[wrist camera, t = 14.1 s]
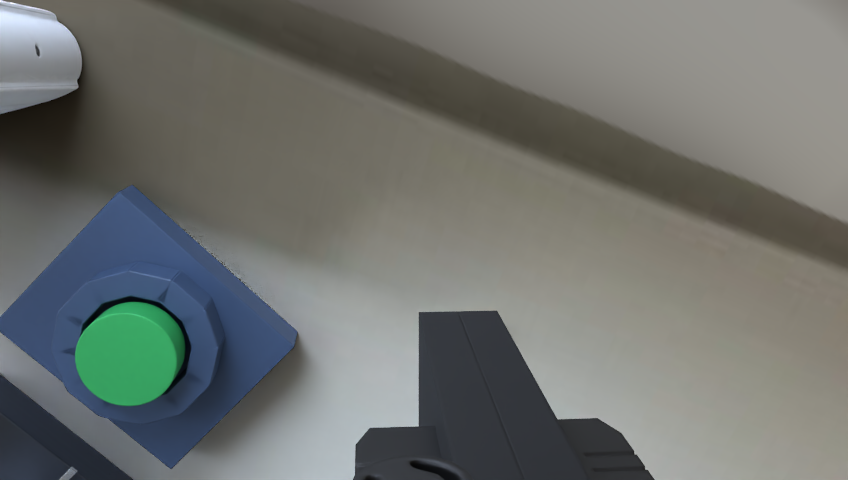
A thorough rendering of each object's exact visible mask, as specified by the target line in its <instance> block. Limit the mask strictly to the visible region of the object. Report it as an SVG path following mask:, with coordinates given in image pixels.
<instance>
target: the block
mask: <svg viewBox="0 0 848 480" xmlns="http://www.w3.org/2000/svg"><path fill="white" fill-rule="evenodd" d="M125 302H143V303H148V304H151V305H154V306H156V307H159V308H160V309H162V310H164V311H165V312H166V313H168V314H169V315H170V316H171V317H172V318H173V319H174V320H175V321H176V323H177V324H178V325H179V327H180V329H181V331H182V333H183V336H184V340H185V358H184V362H183V364H182V367H181V369H180V370H179V372H178V374H177V375H176V377H175V378H174V380H173V382H172V383H171V385H170V386H169V388H168V389H167V390H166V391H165V392H164V393H163V394H162V395H161V396H159V397H158V398H156V399H155V400H153V401H151V402H148V403H146V404H142V405H138V406H120V405H115V404H111V403H109V402H106V401H104V400H102V399H100V398H98V397H97V396H96V395H94V394H93V393H92V392H91V391H90V390H89V389H88V388H87V387H86V386H85V385H84V383H83V382H82V380H81V378H80V376H79V374H78V371H77V368H76V362H75V352H76V346H77V343H78V340H79V338H80V336H81V335H82V333H83V332H84V330H85V329H86V328H87V327H88V326H89V325H90V324H91V323H92V322H93V321H94V320H96V319H97V318H98V317H99V316H100V315H101V314H102V313H103V312H104V311H106V310H107V309H109V308H111V307H113V306H115V305H118V304H121V303H125ZM0 332H1V333H2V334H3V335H5V336H6V337H7V338H8V339H10V340H11V341H12V342H13V343H15V344H16V345H17V346H18V347H20V348H21V349H22V350H23V351H25V352H26V353H27V354H28V355H29V356H31V357H32V358H33V359H34V360H36V361H37V362H38V363H39V364H41V365H42V366H43V367H44V368H46V369H47V370H48V371H49V372H51V373H52V374H53V375H54V376H56V377H57V378H58V379H59V380H61V381H62V382H63V383H64V385H65V388H66V389H67V391H68V392H69V393H70V394H72V395H73V396H74V397H75V398H77V399H78V400H79V401H80V402H82V403H83V404H84V405H85V406H87V407H88V408H89V409H90V410H92V411H93V412H94V413H95V414H97V415H98V416H100V417H104V418H108V419H109V420H110V421H112V422H113V423H114V424H115V425H117V426H118V427H119V428H120V429H122V430H123V431H124V432H125V433H127V434H128V435H129V436H130V437H132V438H133V439H134V440H135V441H137V442H138V443H139V444H140V445H142V446H143V447H144V448H145V449H147V450H148V451H149V452H150V453H152V454H153V455H154V456H155V457H156V458H158V459H159V460H160V461H161V462H163V463H164V464H165V465H166V466H168V467H169V468H170V469H172V468H173V467H174V466H175V465H176V464H177V463H178V462H179V461H180V460H181V459H182V458H183V457H184V456H185V455H186V454H187V453H188V452H189V451H190V450H191V449H192V448H193V447H194V446H195V445H196V444H197V443H198V442H199V441H200V440H201V439H202V438H203V437H204V436H205V435H206V434H207V433H208V432H209V431H210V430H211V429H212V428H213V427H214V426H215V425H216V424H217V423H218V422H219V421H220V420H221V419H222V418H223V417H224V416H225V415H226V414H227V413H228V412H229V411H230V410H231V409H232V408H233V407H234V406H235V405H236V404H237V403H238V402H239V401H240V400H241V399H242V398H243V397H244V396H245V395H246V394H247V393H248V392H249V391H250V390H251V389H252V388H253V387H254V386H255V385H256V384H257V383H258V382H259V381H260V380H261V379H262V378H263V377H264V376H265V375H266V374H267V373H268V372H269V371H270V370H271V369H272V368H273V367H274V366H275V365H276V364H277V363H278V362H279V361H280V360H281V359H282V358H283V357H284V356H285V355H286V354H287V353H288V352H289V351H290V350H291V349H293V348H294V345H295V341H296V337H297V333H298V332H297V331H296V330H295V329H294V328H293V327H292V326H291V325H289V324H288V323H287V322H286V321H285V320H284V319H283V318H282V317H280V316H279V315H278V314H277V313H276V312H275V311H274V310H273V309H271V308H270V307H269V306H268V305H267V304H266V303H265V302H264V301H262V300H261V299H260V298H259V297H258V296H257V295H256V294H255V293H253V292H252V291H251V290H250V289H249V288H248V287H247V286H246V285H244V284H243V283H242V282H241V281H240V280H239V279H238V278H237V277H235V276H234V275H233V274H232V273H231V272H230V271H229V270H228V269H226V268H225V267H224V266H223V265H222V264H221V263H220V262H219V261H218V260H216V259H215V258H214V257H213V256H212V255H211V254H210V253H209V252H207V251H206V250H205V249H204V248H203V247H202V246H201V245H200V244H198V243H197V242H196V241H195V240H194V239H193V238H192V237H191V236H189V235H188V234H187V233H186V232H185V231H184V230H183V229H182V228H180V227H179V226H178V225H177V224H176V223H175V222H174V221H173V220H171V219H170V218H169V217H168V216H167V215H166V214H165V213H164V212H162V211H161V210H160V209H159V208H158V207H157V206H156V205H155V204H153V203H152V202H151V201H150V200H149V199H148V198H147V197H146V196H144V195H143V194H142V193H141V192H140V191H139V190H138V189H137V188H135V187H134V186H133V185H131V186H129V187H127V188H125V189H123V190H121V191H119V192H118V193H117V194H116V195H115V196H114V197H113V198H112V199H111V200H110V201H109V202H108V203H107V204H106V205H105V206H104V207H103V209H102V210H101V211H100V212H99V213H98V214H97V215H96V216H95V217H94V218H93V219H92V220H91V221H90V222H89V223H88V224H87V225H86V227H85V228H84V229H83V230H82V231H81V232H80V233H79V234H78V235H77V236H76V237H75V238H74V239H73V240H72V241H71V242H70V244H69V245H68V246H67V247H66V248H65V249H64V250H63V251H62V252H61V253H60V254H59V255H58V256H57V257H56V258H55V259H54V260H53V262H52V263H51V264H50V265H49V266H48V267H47V268H46V269H45V270H44V271H43V272H42V273H41V274H40V275H39V276H38V277H37V278H36V280H35V281H34V282H33V283H32V284H31V285H30V286H29V287H28V288H27V289H26V290H25V291H24V292H23V293H22V294H21V295H20V296H19V298H18V299H17V300H16V301H15V302H14V303H13V304H12V305H11V306H10V307H9V308H8V309H7V310H6V311H5V312H4V313H3V314H2V316H1V317H0Z"/></svg>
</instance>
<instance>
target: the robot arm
mask: <svg viewBox="0 0 848 480" xmlns="http://www.w3.org/2000/svg"><path fill="white" fill-rule="evenodd" d="M353 480H654V478H653V477H652V476H651V474H650V473H649V471H648V470H645V466H644V464H643V463H642V462H641V460H640V459H639V457H638V456H637V455H634V450H633V449H632V448H631V446H630V445H629V443H628V442H627V441H626V439H625V438H624V436H623V435H622V433H620V432H619V431H617V430H615V429H614V428H612V427H610V426H609V425H607V424H606V423H604V422H602V421H601V420H599V419H598V418H592V419H561V420H557V418H556V416H555V415H554V413H553V411H552V409H551V407H550V406H549V404H548V402H547V400H546V398H545V397H544V395H543V393H542V391H541V389H540V388H539V386H538V384H537V382H536V380H535V379H534V377H533V375H532V373H531V371H530V370H529V368H528V366H527V364H526V362H525V361H524V359H523V357H522V355H521V353H520V352H519V350H518V348H517V346H516V344H515V343H514V341H513V339H512V337H511V335H510V334H509V332H508V330H507V328H506V326H505V325H504V323H503V321H502V319H501V317H500V316H499V314H498V312H497V311H461V312H419V427H391V428H370V429H369V430H368V431H367V432H366V433H365V435H364V436H363V437H362V438H361V439H360V440H359V442H358V443H357V444H356V457H355V476H354V479H353Z"/></svg>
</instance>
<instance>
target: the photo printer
mask: <svg viewBox="0 0 848 480" xmlns="http://www.w3.org/2000/svg"><path fill="white" fill-rule="evenodd" d="M81 69H82V56H81V51H80V48H79V45H78V43H77V41H76V39H75V37H74V36H73V35H72V33H71V32H70V31H69V30H68V29H67V28H66V27H65V26H64V25H63V24H61V23H59V22H58V21H57V18H56V15H55V14H54V13H52V12H50V11H47V10H43V9H38V8H34V7H29V6H25V5H20V4H15V3H11V2H6V1H1V0H0V114H2V113H6V112H10V111H14V110H18V109H22V108H26V107H29V106H33V105H36V104H40V103H44V102H47V101H50V100H53V99H56V98H59V97H61V96H63V95H66V94H68V93H70V92H72V91H74V90H76V89H77V88H78V87H79V86H78V83H77V79H78V78H79V76H80V73H81Z"/></svg>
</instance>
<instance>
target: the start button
mask: <svg viewBox="0 0 848 480" xmlns="http://www.w3.org/2000/svg"><path fill="white" fill-rule="evenodd" d="M184 358H185V340H184V336H183V333H182V331H181V329H180V327H179V325H178V324H177V323H176V321H175V320H174V319H173V318H172V317H171V316H170V315H169V314H168V313H166V312H165V311H164V310H162V309H160V308H159V307H156V306H154V305H151V304H148V303H143V302H125V303H121V304H118V305H115V306H113V307H111V308H109V309H107V310H106V311H104V312H103V313H102V314H101V315H100V316H99V317H98V318H97V319H96V320H94V321H93V322H92V323H91V324H90V325H89V326H88V327H87V328H86V329H85V330H84V332H83V333H82V335H81V336H80V338H79V340H78V343H77V346H76V352H75V362H76V368H77V371H78V374H79V376H80V378H81V380H82V382H83V383H84V385H85V386H86V387H87V388H88V389H89V390H90V391H91V392H92V393H93V394H94V395H96V396H97V397H98V398H100V399H102V400H104V401H106V402H109V403H111V404H115V405H120V406H138V405H142V404H146V403H148V402H151V401H153V400H155V399H156V398H158V397H159V396H161V395H162V394H163V393H164V392H165V391H166V390H167V389H168V388H169V386H170V385H171V383H172V382H173V380H174V378H175V377H176V375H177V374H178V372H179V370H180V369H181V367H182V364H183V362H184Z"/></svg>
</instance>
